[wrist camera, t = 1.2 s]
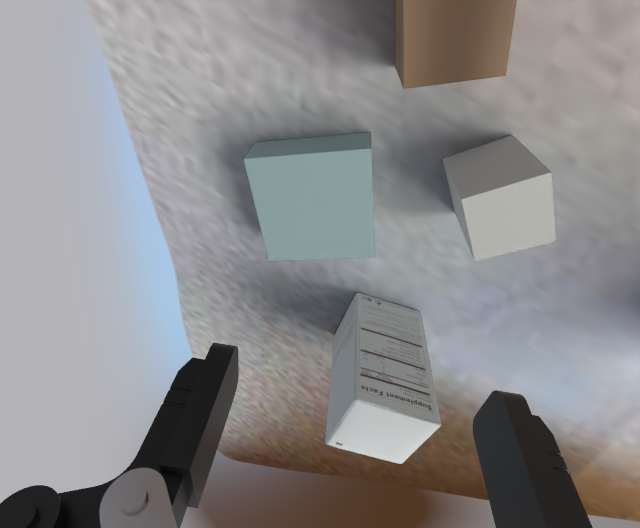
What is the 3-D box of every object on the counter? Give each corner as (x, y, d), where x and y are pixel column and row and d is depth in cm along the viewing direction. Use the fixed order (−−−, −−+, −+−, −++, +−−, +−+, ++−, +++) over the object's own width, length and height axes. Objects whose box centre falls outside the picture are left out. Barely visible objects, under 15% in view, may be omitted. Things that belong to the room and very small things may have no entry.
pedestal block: (370, 130, 27) (371, 148, 24) (374, 231, 33) (374, 257, 30) (256, 140, 29) (243, 158, 26) (277, 236, 34) (268, 261, 31)
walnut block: (481, -42, 21) (524, -56, 15) (472, 56, 24) (505, 75, 18) (393, -27, 22) (403, -34, 16) (395, 67, 25) (403, 88, 19)
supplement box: (392, 353, 42) (401, 467, 32) (332, 334, 41) (321, 445, 31) (423, 310, 37) (444, 427, 27) (356, 289, 37) (353, 401, 26)
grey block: (512, 134, 26) (551, 172, 21) (519, 193, 29) (556, 241, 23) (442, 158, 28) (461, 199, 22) (455, 212, 30) (474, 261, 25)
